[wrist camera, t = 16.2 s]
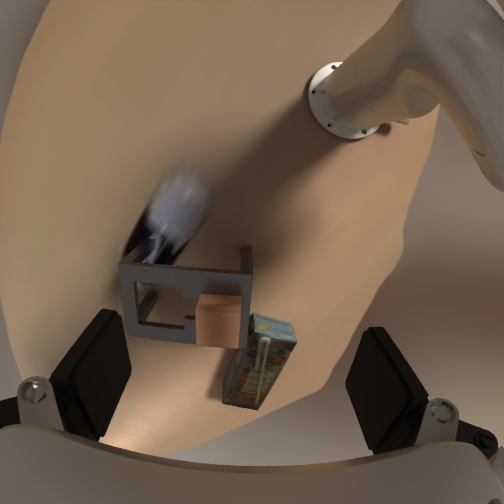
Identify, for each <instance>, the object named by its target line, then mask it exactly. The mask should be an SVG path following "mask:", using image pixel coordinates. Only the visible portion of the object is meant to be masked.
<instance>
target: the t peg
mask: <svg viewBox="0 0 504 504" xmlns="http://www.w3.org/2000/svg"><path fill="white" fill-rule="evenodd" d="M195 312H196V345H197V346H208V347H220V348H234V349H238V347H239V332H240V318H241V296H226V295H212V294H200V297H199V300H198V304H197V307H196V310H195Z"/></svg>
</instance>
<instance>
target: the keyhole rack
mask: <svg viewBox="0 0 504 504" xmlns="http://www.w3.org/2000/svg"><path fill="white" fill-rule="evenodd" d="M154 248H155V247H154V239H145V240H144V241H142V242H141V243H140V244H139V245H138V246H137V247H136V248H135V249H134V250H132V251H131V252H130V253H129V254H128V255H127V256H126V257H125V258H124V259H123V260H122V261H120V262H119V263H118V269H119V278H120V287H121V295H122V303H123V310H124V316H125V322H126V328H127V334H128V335H131V336H137V337H143V338H150V339H157V340H164V341H172V342H181V343H189V344H196V316H189V315H185V317H184V326H180V325H171V324H163V323H155V322H148V321H146V319H147V317H148V316H149V314H150V312H151V310H152V308H153V307H154V305H155V303H156V301H157V292H148V293H147V295H146V296H145V298H144V299H143V301H142V302H141V304H140V305H139V303H138V294H137V284H136V282H145V283H154V284H164V285H174V286H183V299H187V300H199V297H200V294H212V295H226V296H241V318H240V332H239V347H238V348H246V344H247V334H248V323H249V313H250V303H251V292H252V281H253V265H252V247H251V246H242V249H241V266H240V271H234V270H221V269H208V268H195V267H183V266H171V265H160V264H148V263H141V262H142V261H143V260H144V259H145V258H146V257H147V256H148V255H149V254H150V253H151V251H152V250H153V249H154Z"/></svg>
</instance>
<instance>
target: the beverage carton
mask: <svg viewBox="0 0 504 504" xmlns="http://www.w3.org/2000/svg"><path fill="white" fill-rule="evenodd" d="M296 343H297V340H296V337H295V332H294V328H293V327H292V324H291V323H288V322H284V321H280V320H276V319H273V318H269V317H266V316H262V315H259V314H255V313H253V314H252V317H251V319H250V321H249V324H248V334H247V344H246V348H238V349H237V352H236V354H235V356H234V358H233V361H232V363H231V365H230V368H229V370H228V372H227V375H226V377H225V379H224V382H223V394H222V403H223V404H226V405H232V406H237V407H241V408H249V409H252V410H258V409H259V408H260V406H261V405H262V403H263V401H264V400H265V398H266V396H267V395H268V393H269V391H270V390H271V388H272V386H273V385H274V383H275V381H276V379H277V378H278V376H279V374H280V372H281V371H282V369H283V367H284V365H285V363H286V361H287V360H288V358H289V356H290V353H291V352H292V351H293V348H294V347H295V345H296Z"/></svg>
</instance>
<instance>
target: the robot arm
mask: <svg viewBox="0 0 504 504" xmlns="http://www.w3.org/2000/svg"><path fill="white" fill-rule="evenodd" d="M497 2H498V4H499V5H500V7H501V8H502V10H503V11H504V0H497ZM332 68H333V69H334V70H333V69H332ZM312 91H313V92H314V93H315V94H313V93H312ZM308 102H309V106H310V109H311V111H312V113H313V115H314V117H315V118H316V120H317V121H318V122H319V123H320V124H321V125H322V127H323V128H325V129H326V130H327V131H329V132H330V133H332V134H334V135H336V136H338V137H342V138H346V139H358V138H363V137H366V136H369V135H371V134H372V133H373V132H375V131H376V130H377V129H378V128H379V127H380V125H381V124H383V123H389V122H394V121H396V122H397V123H401V124H404V125H407V124H408V123H409V120H410V119H412V118H418V117H422V116H424V115H426V114H428V113H430V112H431V111H432V110H433V109H434V108H435V107H436V106H437V105H438V104H439V103H440V105H441V106H442V107H443V109H444V110H445V112H446V113H447V115H448V116H449V117H450V118H451V120H452V121H453V123H454V124H455V126H456V128H457V129H458V131H459V132H460V134H461V136H462V137H463V139H464V141H465V143H466V144H467V146H468V148H469V150H470V152H471V153H472V155H473V157H474V159H475V160H476V162H477V164H478V166H479V168H480V170H481V171H482V173H483V175H484V176H485V178H486V179H487V180H488V181H489V183H490V184H491V185H492V186H494V187H495V188H496V189H498V190H499V191H502V192H504V20H503V19H502V17H501V16H500V15H499V14H498V12H497V11H496V10H495V9H494V8H493V7H492V6H491V5H490V4H489V3H488V1H487V0H401V1H400V3H399V4H398V6H397V7H396V9H395V10H394V12H393V13H392V15H391V16H390V18H389V19H388V20H387V22H386V23H385V24H384V25H383V26H382V27H381V28H380V29H379V30H378V31H377V32H376V33H375V34H374V35H373V36H372V37H371V38H370V39H369V40H367V41H366V42H365V43H364V44H363V45H362V46H360V47H359V48H358V49H357V50H356V51H355V52H353V53H352V54H351V55H350V56H349V57H348V58H347V59H346V60H344V61H343V62H334V63H330V64H328V65H325V66H323V67H322V68H321V69H319V70H318V71H317V72H316V73H315V75H314V76H313V78H312V79H311V81H310V84H309V87H308ZM328 124H330V127H328ZM362 131H363V134H362ZM130 375H131V363H130V358H129V354H128V349H127V344H126V339H125V334H124V328H123V322H122V317H121V315H118V313H117V311H115V310H109V309H101V310H100V312H99V313H98V314H97V315H96V316H95V318H94V319H93V320H92V321H91V323H90V324H89V325H88V326H87V328H86V329H85V330H84V332H83V333H82V334H81V335H80V337H79V338H78V339H77V341H76V342H75V343H74V344H73V346H72V347H71V348H70V350H69V351H68V352H67V354H66V355H65V356H64V358H63V359H62V360H61V362H60V363H59V365H58V366H57V367H56V369H55V370H54V372H53V373H52V374H51V377H50V379H49V380H47V379H46V378H44V377H39V376H35V377H30V378H27V379H26V380H24V381H23V382H22V383H21V384H20V385H19V388H18V390H17V396H16V397H13V398H9V399H5V400H2V401H0V504H504V448H503V447H502V446H501V447H500V448H498V442H497V439H496V437H495V435H494V434H492V433H491V432H490V431H488V430H485V429H482V428H480V427H476V426H474V425H471V424H469V423H466V422H464V421H461V420H459V412H458V409H457V408H456V406H455V405H454V404H453V403H452V402H450V401H449V400H446V399H443V398H435V399H433V400H431V401H430V402H429V400H428V398H427V397H428V396H429V395H428V393H427V391H426V390H425V388H424V387H423V385H422V383H421V382H420V380H419V379H418V377H417V376H416V374H415V373H414V371H413V370H412V368H411V367H410V365H409V364H408V362H407V361H406V360H405V358H404V356H403V355H402V353H401V352H400V350H399V349H398V347H397V346H396V344H395V343H394V342H393V340H392V339H391V337H390V336H389V334H388V333H387V332H386V330H385V329H384V328H383V327H369V328H368V329H367V331H364V332H363V335H362V338H361V341H360V344H359V346H358V349H357V352H356V355H355V358H354V360H353V363H352V366H351V368H350V371H349V373H348V376H347V378H346V389H347V392H348V394H349V397H350V400H351V402H352V405H353V408H354V410H355V413H356V416H357V418H358V421H359V424H360V427H361V429H362V432H363V435H364V438H365V441H366V443H367V446H368V449H369V450H372V451H373V454H374V455H372V456H366V457H361V458H355V459H349V460H343V461H336V462H327V463H318V464H308V465H293V466H231V465H217V464H206V463H197V462H188V461H181V460H174V459H168V458H163V457H157V456H152V455H147V454H143V453H138V452H134V451H130V450H126V449H122V448H118V447H114V446H110V445H107V444H103V443H100V442H98V441H99V439H100V437H104V436H105V434H106V431H107V429H108V426H109V424H110V421H111V419H112V417H113V414H114V412H115V409H116V407H117V405H118V402H119V400H120V398H121V396H122V393H123V391H124V389H125V386H126V384H127V382H128V380H129V377H130Z"/></svg>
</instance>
